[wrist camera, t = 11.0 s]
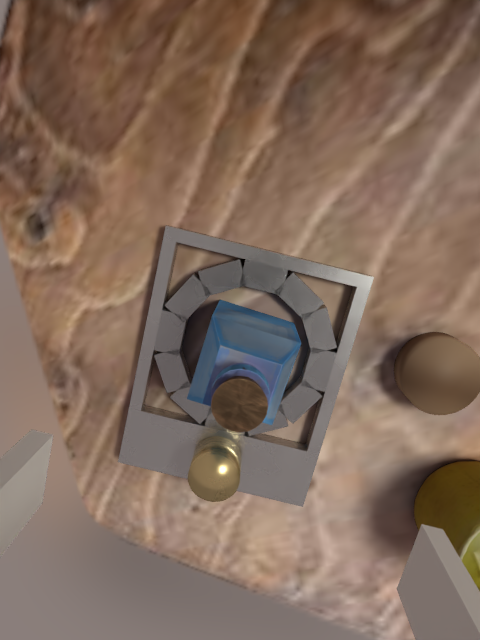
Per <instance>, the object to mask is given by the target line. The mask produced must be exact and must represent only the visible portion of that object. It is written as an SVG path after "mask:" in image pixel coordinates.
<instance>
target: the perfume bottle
mask: <svg viewBox="0 0 480 640" xmlns="http://www.w3.org/2000/svg"><path fill="white" fill-rule="evenodd" d="M300 346H301V341H300V338H299V335H298V333H297V330H296V327H295V324H294V323H292V322H289V321H286V320H283V319H280V318H277V317H273V316H270V315H267V314H264V313H261V312H258V311H254V310H251V309H248V308H245V307H242V306H239V305H235V304H232V303H229V302H226V301H223V300H220V301H219V303H218V305H217V307H216V309H215V311H214V313H213V315H212V318H211V321H210V324H209V328H208V331H207V334H206V338H205V341H204V344H203V347H202V351H201V354H200V357H199V360H198V364H197V367H196V370H195V374H194V377H193V380H192V383H191V387H190V390H189V393H188V396H187V399H188V400H191V401H195V402H198V403H201V404H204V405H208V406H211V409H212V414H213V416H214V418H215V420H216V421H217V422H218V423H219V424H220V425H221V426H222V427H223V428H225V429H228V430H230V431H233V432H247V431H250V430H252V429H254V428H256V427H258V426H259V425H260V424H261V423H262V422H263V423H266V424H269V425H272V424H273V421H274V419H275V416H276V413H277V410H278V407H279V405H280V402H281V399H282V396H283V393H284V391H285V388H286V385H287V382H288V379H289V377H290V374H291V371H292V368H293V365H294V363H295V360H296V357H297V354H298V351H299V349H300Z"/></svg>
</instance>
